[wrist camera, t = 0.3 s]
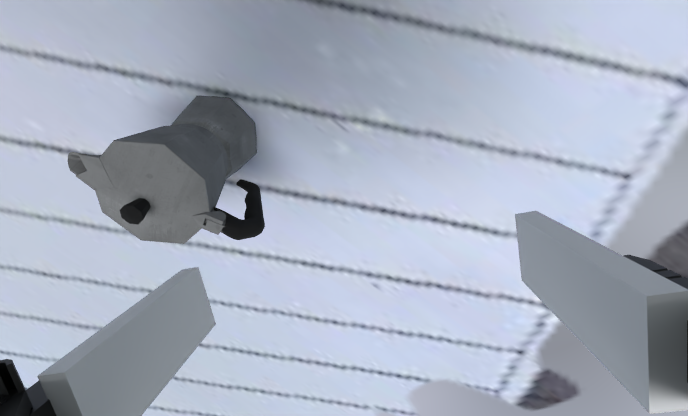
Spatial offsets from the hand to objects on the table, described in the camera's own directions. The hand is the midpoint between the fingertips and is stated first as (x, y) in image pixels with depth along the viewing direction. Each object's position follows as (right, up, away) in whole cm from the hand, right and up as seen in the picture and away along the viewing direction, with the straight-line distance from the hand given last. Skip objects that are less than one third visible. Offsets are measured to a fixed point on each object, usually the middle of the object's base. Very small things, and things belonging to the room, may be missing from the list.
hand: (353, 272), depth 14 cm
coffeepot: (-14, +11, +26) cm, 31 cm away
